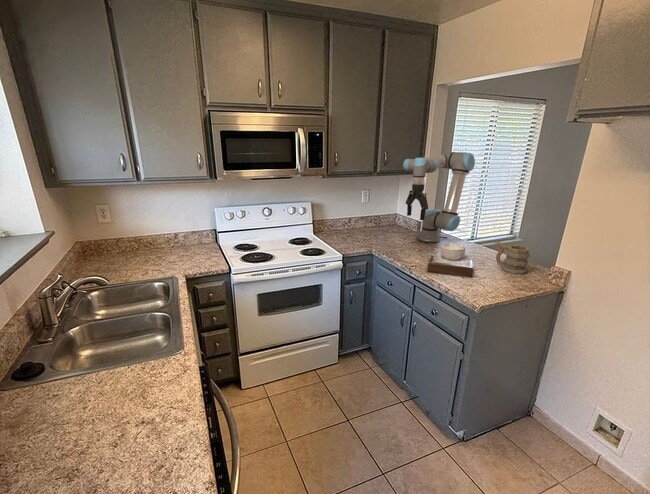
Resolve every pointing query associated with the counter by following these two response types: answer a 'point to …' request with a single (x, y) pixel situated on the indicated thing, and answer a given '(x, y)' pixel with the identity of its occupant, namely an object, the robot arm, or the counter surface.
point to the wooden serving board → (450, 268)
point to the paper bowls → (452, 251)
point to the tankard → (513, 258)
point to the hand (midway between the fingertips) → (415, 217)
